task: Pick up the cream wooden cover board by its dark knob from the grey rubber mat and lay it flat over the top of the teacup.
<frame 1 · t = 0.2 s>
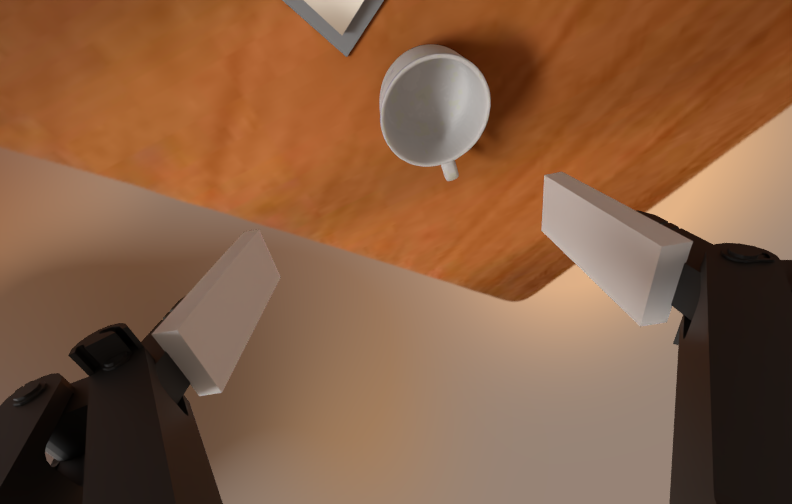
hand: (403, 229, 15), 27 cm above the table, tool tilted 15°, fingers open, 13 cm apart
teacup: (426, 102, 37), on the table
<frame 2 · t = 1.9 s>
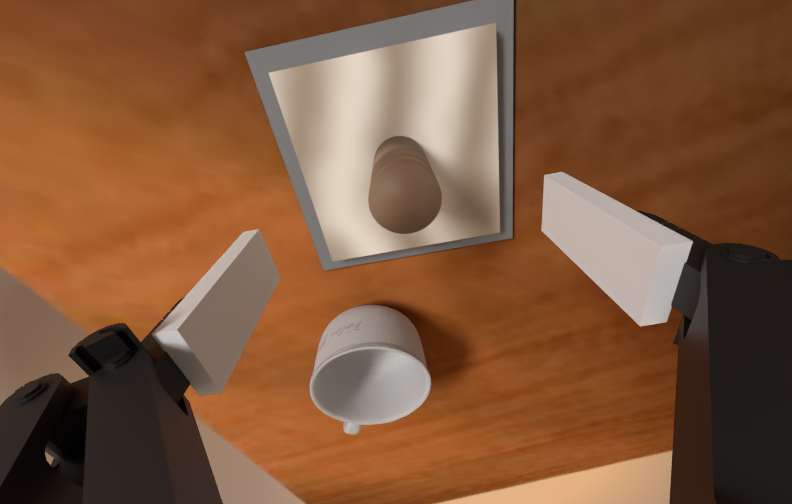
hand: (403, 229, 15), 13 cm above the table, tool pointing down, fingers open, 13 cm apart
cover board: (399, 159, 25), resting on mat
teacup: (368, 336, 35), on the table
mat: (399, 158, 25), on the table
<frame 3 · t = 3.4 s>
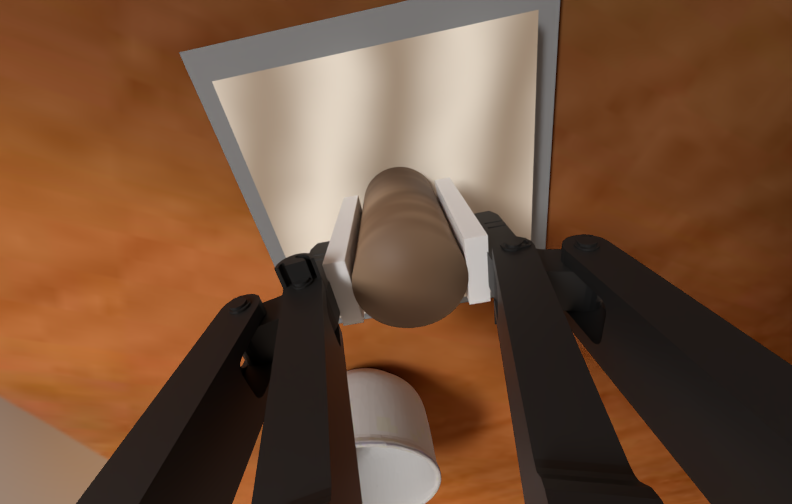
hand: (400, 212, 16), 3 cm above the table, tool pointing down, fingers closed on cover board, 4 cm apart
cover board: (398, 195, 19), resting on mat, touching gripper
teacup: (360, 399, 29), on the table
mat: (398, 193, 19), on the table
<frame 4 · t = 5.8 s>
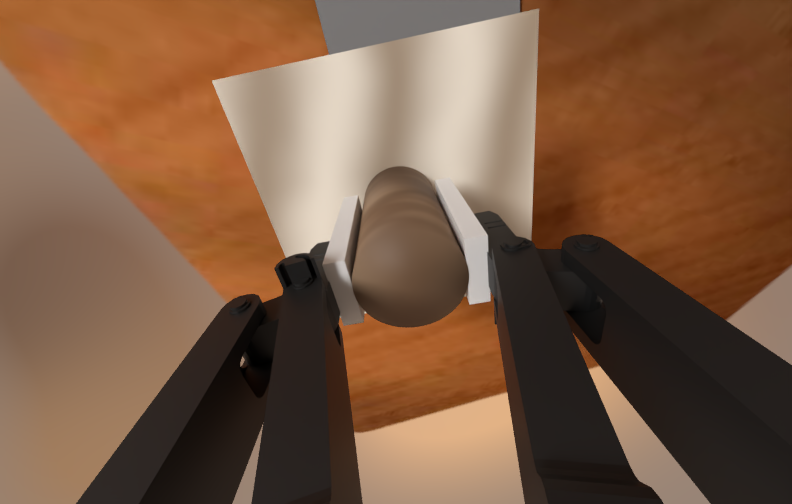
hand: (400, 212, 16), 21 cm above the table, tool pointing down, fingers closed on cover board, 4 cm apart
cover board: (398, 194, 19), point 18 cm above the table, touching gripper
mat: (417, 2, 28), on the table
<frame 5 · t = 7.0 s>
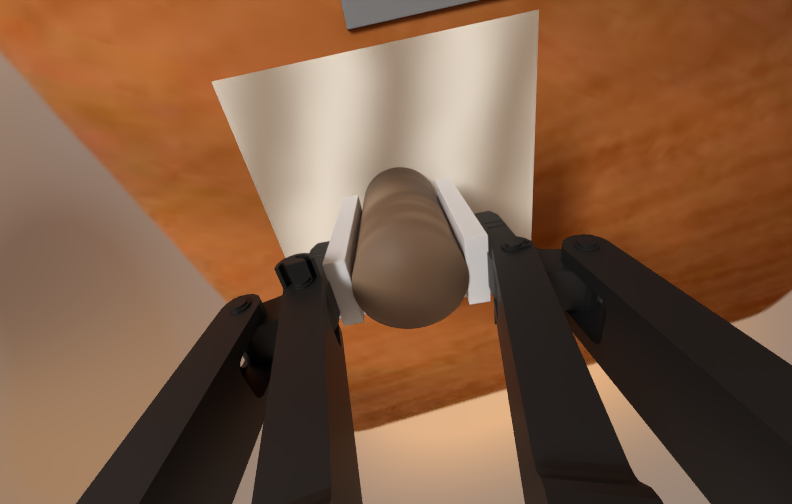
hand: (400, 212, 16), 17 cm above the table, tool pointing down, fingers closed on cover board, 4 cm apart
cover board: (398, 195, 19), point 14 cm above the table, touching gripper
when the fingers open (12 cm above the table, at t = 8.0 s): cover board drops 2 cm, resting on teacup.
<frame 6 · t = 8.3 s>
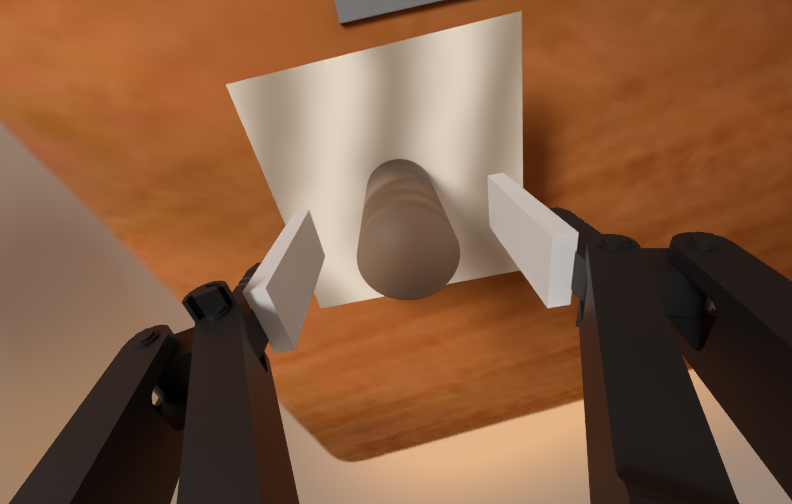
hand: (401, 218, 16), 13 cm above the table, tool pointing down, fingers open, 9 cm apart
cover board: (398, 186, 20), point 8 cm above the table, touching teacup
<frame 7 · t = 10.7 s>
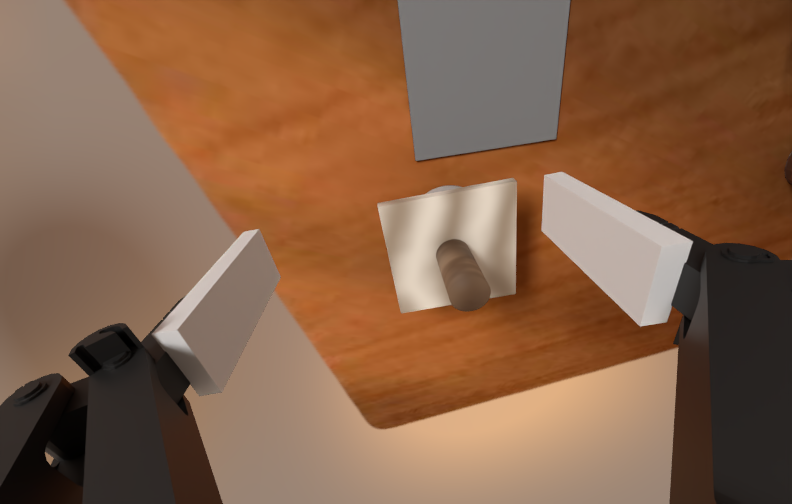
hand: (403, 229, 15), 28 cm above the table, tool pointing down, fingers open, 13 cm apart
cover board: (450, 249, 38), point 8 cm above the table, touching teacup
mat: (484, 69, 36), on the table
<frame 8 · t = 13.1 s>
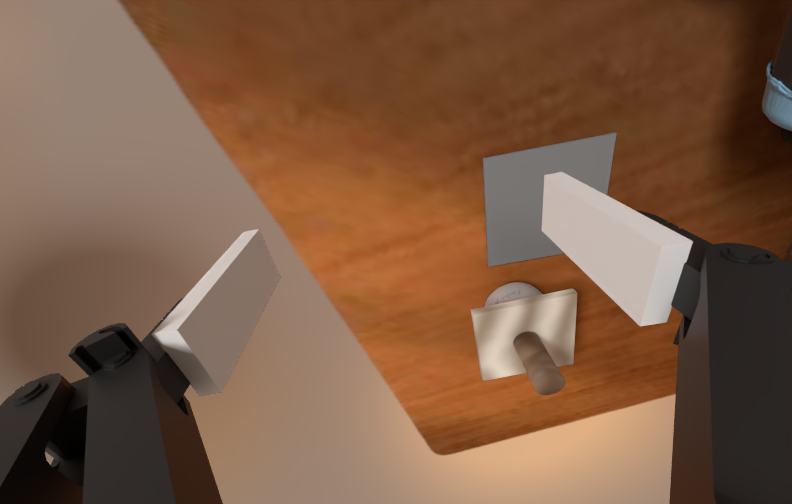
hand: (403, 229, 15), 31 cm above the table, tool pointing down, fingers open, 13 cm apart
cover board: (523, 335, 50), point 8 cm above the table, touching teacup
teacup: (503, 304, 57), on the table, touching cover board
mat: (544, 205, 47), on the table
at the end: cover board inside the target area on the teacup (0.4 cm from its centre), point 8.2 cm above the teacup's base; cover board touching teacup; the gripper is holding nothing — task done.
